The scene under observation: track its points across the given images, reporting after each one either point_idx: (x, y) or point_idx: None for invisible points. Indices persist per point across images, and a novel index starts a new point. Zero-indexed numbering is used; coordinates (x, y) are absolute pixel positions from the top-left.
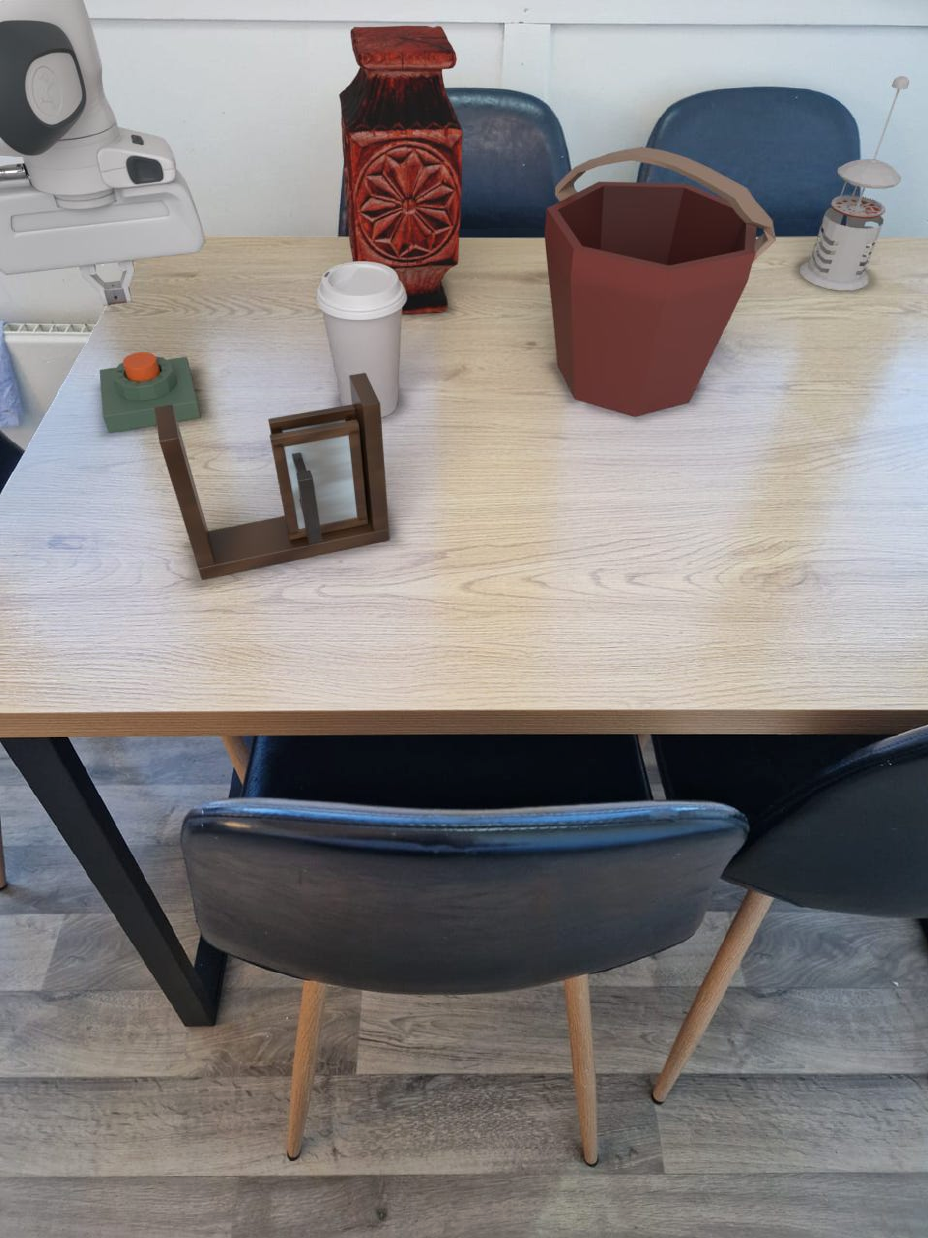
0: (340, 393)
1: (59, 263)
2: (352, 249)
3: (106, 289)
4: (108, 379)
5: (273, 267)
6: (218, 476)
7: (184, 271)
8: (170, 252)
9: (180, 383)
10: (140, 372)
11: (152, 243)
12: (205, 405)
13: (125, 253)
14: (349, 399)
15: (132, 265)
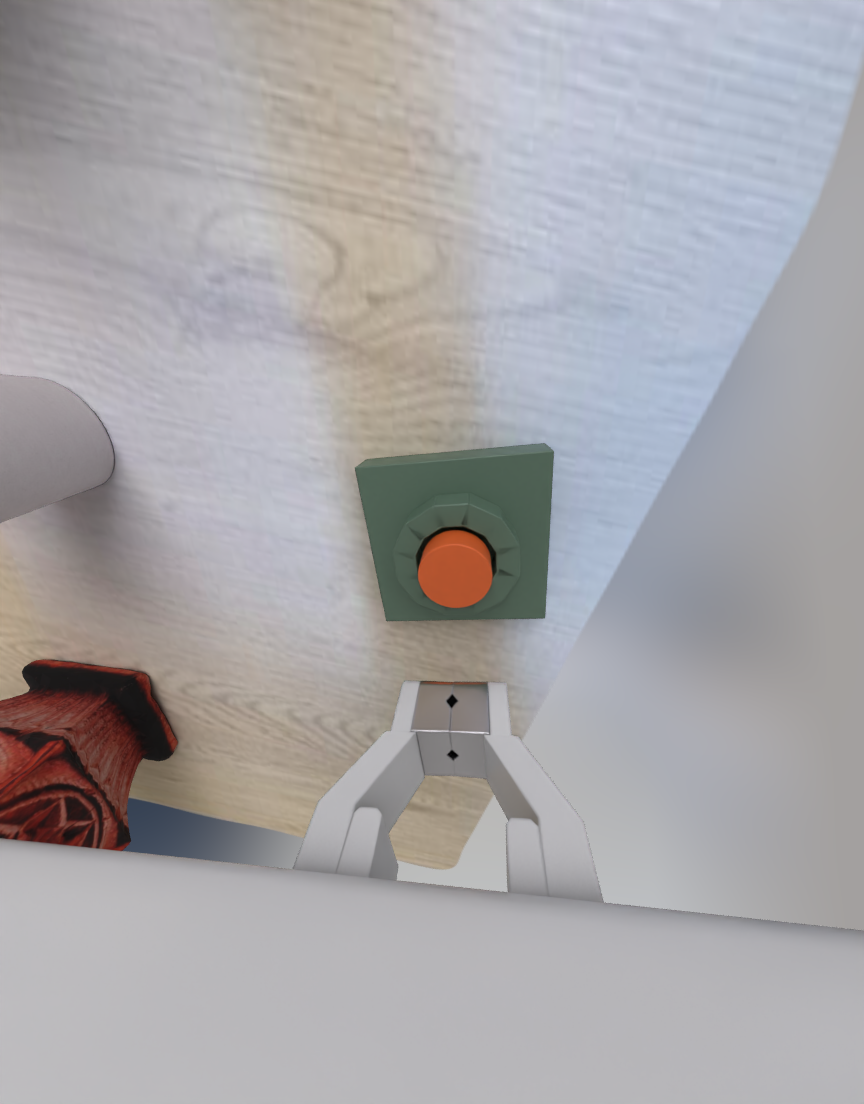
0: (62, 426)
1: (791, 988)
2: (75, 783)
3: (478, 735)
4: (531, 583)
5: (301, 793)
6: (305, 195)
7: (414, 813)
8: (45, 871)
9: (392, 539)
10: (455, 539)
11: (39, 991)
12: (361, 500)
13: (262, 943)
14: (32, 395)
15: (311, 830)
